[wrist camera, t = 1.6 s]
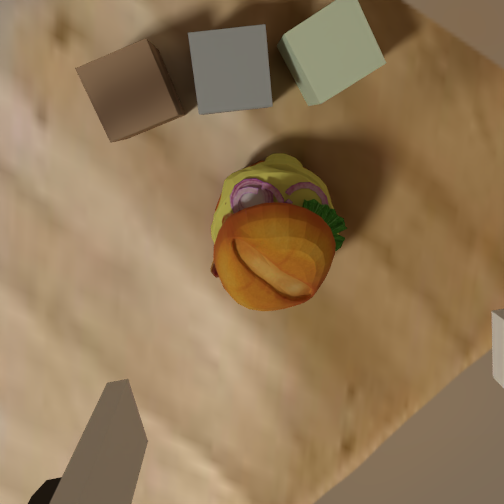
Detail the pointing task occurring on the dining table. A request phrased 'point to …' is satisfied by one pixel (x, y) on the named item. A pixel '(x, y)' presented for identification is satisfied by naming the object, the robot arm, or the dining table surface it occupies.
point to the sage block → (330, 51)
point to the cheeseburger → (274, 234)
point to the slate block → (231, 69)
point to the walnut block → (131, 90)
